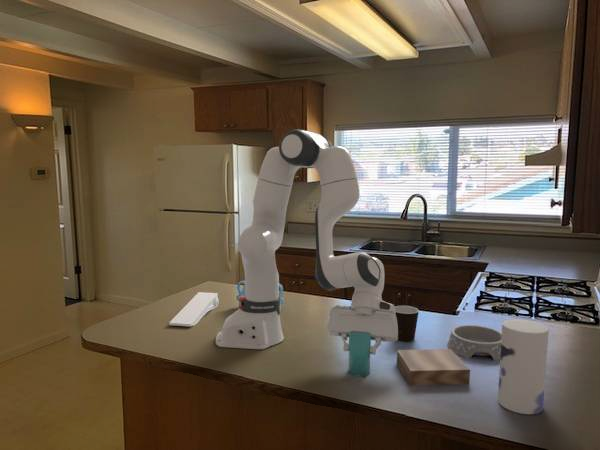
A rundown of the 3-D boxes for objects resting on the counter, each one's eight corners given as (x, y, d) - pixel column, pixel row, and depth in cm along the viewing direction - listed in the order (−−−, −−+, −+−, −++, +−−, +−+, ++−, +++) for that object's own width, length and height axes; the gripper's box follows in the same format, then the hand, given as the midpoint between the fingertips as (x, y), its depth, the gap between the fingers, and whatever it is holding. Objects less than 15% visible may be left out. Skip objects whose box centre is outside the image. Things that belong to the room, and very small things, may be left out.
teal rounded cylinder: (350, 376, 130) (350, 337, 128) (347, 366, 136) (347, 330, 134) (371, 375, 130) (372, 337, 129) (367, 366, 136) (368, 329, 135)
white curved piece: (191, 343, 169) (218, 309, 196) (195, 325, 167) (221, 294, 194) (166, 335, 170) (195, 303, 197) (168, 317, 168) (198, 287, 195)
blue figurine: (271, 301, 201) (271, 270, 199) (286, 312, 186) (286, 278, 185) (234, 306, 194) (234, 273, 192) (247, 317, 179) (246, 282, 178)
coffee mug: (418, 344, 153) (419, 314, 152) (391, 342, 155) (392, 312, 154) (416, 331, 165) (417, 304, 163) (391, 330, 166) (392, 302, 165)
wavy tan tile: (410, 385, 125) (410, 370, 124) (396, 363, 139) (397, 350, 138) (469, 384, 125) (470, 369, 125) (450, 362, 139) (450, 349, 139)
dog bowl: (514, 362, 140) (516, 345, 139) (450, 357, 143) (451, 340, 142) (501, 341, 156) (502, 326, 156) (444, 337, 160) (445, 322, 159)
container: (490, 395, 119) (494, 318, 117) (527, 393, 120) (533, 317, 118) (511, 416, 110) (516, 333, 107) (551, 414, 110) (558, 332, 108)
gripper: (329, 299, 140) (321, 343, 132) (399, 306, 134) (395, 351, 126) (333, 309, 145) (324, 352, 137) (400, 316, 139) (396, 361, 131)
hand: (359, 352), depth 132 cm, fingers closed on teal rounded cylinder, 6 cm apart
